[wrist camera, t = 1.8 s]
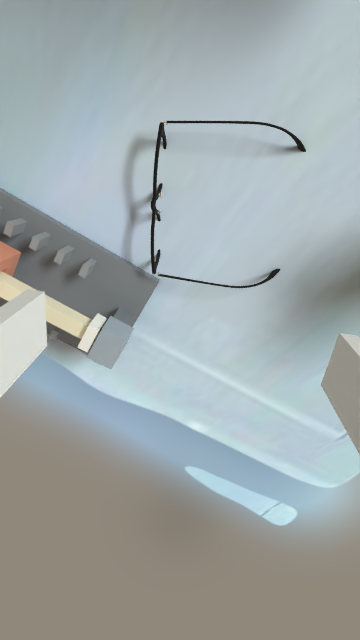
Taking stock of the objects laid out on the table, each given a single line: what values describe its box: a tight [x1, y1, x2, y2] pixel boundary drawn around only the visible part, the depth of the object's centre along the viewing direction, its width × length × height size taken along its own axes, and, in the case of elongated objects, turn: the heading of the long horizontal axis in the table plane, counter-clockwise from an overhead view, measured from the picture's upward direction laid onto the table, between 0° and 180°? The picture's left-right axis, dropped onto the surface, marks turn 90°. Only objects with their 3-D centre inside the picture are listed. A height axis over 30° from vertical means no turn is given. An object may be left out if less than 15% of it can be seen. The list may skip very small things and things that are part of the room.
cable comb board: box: [0, 188, 159, 354], centre depth 38 cm, size 28×14×8 cm, turn 60°
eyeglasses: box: [151, 121, 306, 288], centre depth 36 cm, size 16×16×4 cm
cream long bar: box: [0, 271, 133, 369], centre depth 36 cm, size 27×4×4 cm, turn 60°
